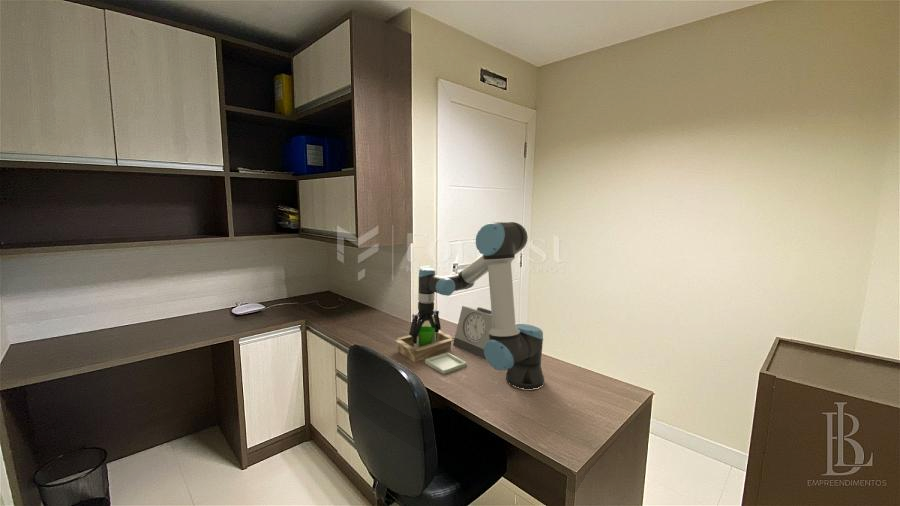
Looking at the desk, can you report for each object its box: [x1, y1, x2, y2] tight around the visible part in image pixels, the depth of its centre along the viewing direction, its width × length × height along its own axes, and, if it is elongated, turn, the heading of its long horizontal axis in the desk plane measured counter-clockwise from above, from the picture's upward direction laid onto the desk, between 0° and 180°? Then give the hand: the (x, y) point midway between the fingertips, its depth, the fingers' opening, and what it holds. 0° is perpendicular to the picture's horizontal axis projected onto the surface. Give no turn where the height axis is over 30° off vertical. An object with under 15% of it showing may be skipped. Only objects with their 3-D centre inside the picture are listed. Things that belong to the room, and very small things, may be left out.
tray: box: [424, 351, 468, 376], centre depth 160 cm, size 13×13×2 cm
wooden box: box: [394, 329, 455, 363], centre depth 173 cm, size 17×25×6 cm
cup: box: [418, 325, 435, 347], centre depth 173 cm, size 9×9×11 cm
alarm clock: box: [452, 305, 492, 360], centre depth 178 cm, size 20×16×20 cm
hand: (425, 346), depth 173 cm, fingers open, 9 cm apart
